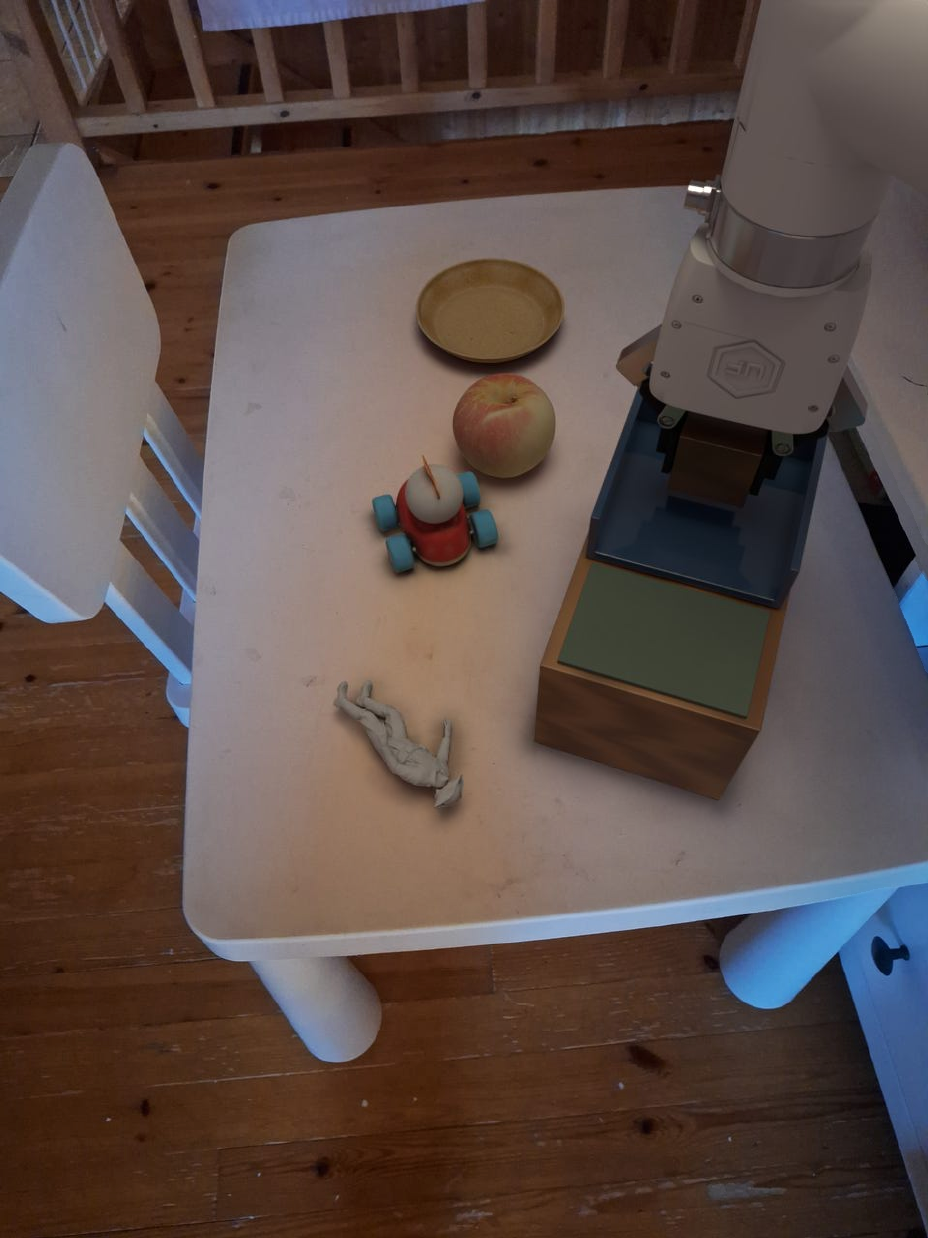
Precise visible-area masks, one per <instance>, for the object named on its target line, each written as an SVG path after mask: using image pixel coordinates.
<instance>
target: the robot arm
mask: <svg viewBox="0 0 928 1238" xmlns="http://www.w3.org/2000/svg"><path fill="white" fill-rule="evenodd" d="M759 4H760V5H759V9H758V14H757V17H756V22H755V27H754V31H753V35H752V38H751V39H752V40H751V43H750V49H749V52H748V57H747V61H746V65H745V70H744V74H743V79H742V83H741V88H740V91H739V95H738V96H739V97H738V101H737V105H736V110H735V114H734V119H733V124H732V128H731V131H730V132H731V133H730V137H729V141H728V146H727V150H726V154H725V160H724V164H723V169H722V172H721V174H716V175H715V177H714V180H709V179H706V181H698V180H693V179H691V180H689V181H690V182H689V184H688V187H687V191H686V195H685V199H684V203H683V209H684V210H688V211H694V212H697V215H698V216H703V217H704V219H703V220H702V221H701V222H700V224H699V225H698V227H697V228H696V231H695V232H694V234H693V235H692V237H691V240H690V241H689V243H688V246H687V247H686V249H685V252H684V254H683V256H682V259H681V262H680V263H679V266H678V269H677V272H676V275H675V278H674V280H673V284H672V287H671V290H670V294H669V297H668V301H667V303H666V307H665V312H664V315H663V318H662V323H660V324H659V325H657V326H656V327H654V328H653V329H651V330H650V331H648V332H647V333H645V334H644V335H642V336H640V337H639V338H637V339H636V340H634V341H632V342H631V343H629V344H628V345H627V346H625V347H624V348H622V350H621V351H620V354H619V357H618V358H617V361H616V363H615V369H616V370H617V371H618V372H619V373H620V374H621V375H622V377H623V378H625V379H626V380H627V381H628V382H629V383H630V384H631V385H632V386H634V387H635V386H636V387H637V388H639V393H640V395H641V396H642V397H643V399H644V400H645V401H646V402H647V403H648V404H649V405H650V407H651V408H652V409H653V410H654V411H655V412H656V413H657V415H658V419H657V422H658V424H659V425H660V426H661V430H660V435H659V439H658V443H657V448H656V452H659V453H664V454H665V458H664V462H663V466H662V470H661V472H662V473H666V474H669V472H670V473H671V470H672V466H673V462H674V458H675V454H676V450H677V446H678V442H679V438H680V435H681V432H682V429H683V426H684V422H685V419H686V416H687V413H688V411H692V412H696V413H700V414H704V415H708V416H712V417H716V418H720V419H725V420H729V421H733V422H738V423H742V424H746V425H751V426H755V427H760V428H764V429H769V432H768V436H767V440H766V444H765V448H764V452H763V456H762V459H761V461H760V464H759V467H758V469H757V472H756V475H755V477H754V480H753V483H752V485H751V488H750V491H749V492H750V493H749V494H750V495H754V496H758V493H759V491H760V488H761V486H762V483H763V481H764V478H766V479H770V480H775V478H776V475H777V473H778V470H779V468H780V465H781V463H782V460H783V458H784V456H788V455H790V454H791V453H792V452H793V448H794V447H797V446H800V445H803V444H806V443H809V442H811V441H814V440H817V439H820V438H823V437H825V436H826V435H827V433H828V432H829V433H831V432H833V433H837V432H842V431H845V430H849V429H853V428H857V427H860V426H863V425H864V424H866V419H867V414H868V409H869V404H868V402H867V399H866V398H865V395H864V394H863V392H862V390H861V389H860V386H859V384H858V383H857V381H856V379H855V377H854V374H853V373H852V371H851V369H850V367H849V365H848V363H849V360H850V358H851V355H852V351H853V349H854V346H855V342H856V340H857V337H858V335H859V331H860V328H861V324H862V321H863V317H864V314H865V310H866V306H867V301H868V297H869V292H870V288H871V287H870V286H871V281H872V273H873V272H872V263H873V257H872V252H871V248H870V247H869V245H868V241H869V239H870V237H871V235H872V232H873V230H874V227H875V224H876V222H877V219H878V217H879V214H880V212H881V209H882V207H883V205H884V203H885V202H884V201H885V200H886V197H887V195H888V191H889V189H890V186H891V185H892V182H893V179H894V178H896V179H898V180H899V181H901V182H902V183H904V184H906V185H907V186H909V187H910V188H912V189H913V190H916V191H918V192H919V193H921V194H922V195H923V196H926V197H928V0H760V3H759ZM829 433H828V434H829Z"/></svg>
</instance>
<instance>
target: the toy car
mask: <svg viewBox="0 0 928 1238" xmlns="http://www.w3.org/2000/svg"><path fill="white" fill-rule="evenodd" d="M421 456H422V462H423V466H420V467H419V468H417V469H416V470H415V471H414V472H412V473H411V475H410V476H409V477H408V479H406V480H405V482H403V484H402V485H401V487H400V488H399V491H398V493H397V496H396V501H394V499H393V496H392V495H391V494H389V493H388V494H383V495H379V496H375V497H373V498H372V500H371V502H372V508H373V513H374V516H375V520H376V523H377V526H378V529H379V530H380V531H382V532H385V531H389V530H393V529H396V528H398V527H399V525H400V527H401V529H402V532H403V533H399V534H396V535H393V536H389V537H388V538H386V540H385V548H386V551H387V554H388V557H389V561H390V563H391V566H392V569H393V570H394V571H395V572H396V573H401V572H404V571H408V570H410V569H411V570H412V569H413V568H414V567H415V560H414V555H413V552H414V553H416V554H417V556H418V557H419V558H420V559H421V560H422V561H423V562H425V563H426V564H428V565H431V566H435V567H445V566H449V565H453V564H455V563H458V562H460V561H461V560H462V559H463V558H464V557H466V555H467V553H468V551H469V550H470V548H471V547H470V546H471V543H472V539H471V536H472V538H473V540H474V543H475V544H476V546H477V547H478V548H485V547H488V546H492V545H494V544H496V543H498V541H499V531H498V527H497V524H496V521H495V518H494V515H493V514H492V512H491V510H489V509H486V508H485V509H481V510H477V511H474V512H472V513H470V514H469V516H468V515H467V511H466V509H468V508H471V507H475V506H478V505H479V504H480V503H481V500H482V497H481V496H482V495H481V491H480V487H479V483H478V481H477V477H476V475H475V473H473V471H465V472H461V473H458V474H457V473H456V472H455V471H453V470H452V468H451V469H450V468H449V467H448V466H445V465H442V464H438V463H437V464H436V463H431V464H428V462H427V460H426V458H425V455H424V454H422V455H421Z"/></svg>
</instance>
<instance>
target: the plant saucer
mask: <svg viewBox="0 0 928 1238" xmlns="http://www.w3.org/2000/svg"><path fill="white" fill-rule="evenodd" d="M559 288H560V287H558V285H557V284H556V283H555V282H554V281H553V280H552V279H551V278H550V277H549V276H548V275H547V274H545V273H544V272H543V271H541V270H539V269H537V268H536V267H534V266H531V265H529V264H526V263H524V262H520V261H516V260H513V259H512V260H511V259H507V258H498V257H497V258H495V257H493V258H491V257H490V258H488V257H487V258H486V257H485V258H476V259H470V260H465V261H461V262H458V263H456V264H453V265H451V266H448V267H446V268H444V269H442V270H441V271H439V272H438V273H436V274H435V275H434V276H432V277H431V278H430V279H429V280H428V281H427V282H426V283H425V284H424V286H423V287H422V288H421V290H420V292H419V293H418V296H417V299H416V304H415V317H416V321H417V324H418V326H419V328H420V329H421V331H422V333H423V334H424V335H425V336H426V338H428V339H429V340H430V341H431V342H432V343H433V344H435V345H436V346H437V347H439V348H440V349H441V350H443V351H444V352H447V353H448V354H450V355H452V356H454V357H457V358H459V359H462V360H465V361H470V362H475V363H480V364H481V363H482V364H497V363H505V362H509V361H512V360H516V359H519V358H522V357H524V356H527V355H529V354H530V353H532V352H534V351H536V350H537V349H538V348H540V347H542V346H543V345H544V344H546V342H548V340H550V339H551V338H552V337H553V335H554V334H555V333H556V332H557V331H558V329H559V327H560V326H561V325H562V322H563V320H564V316H565V300H564V297H563V294H562V292H561V290H560V289H559Z"/></svg>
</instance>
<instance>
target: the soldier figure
mask: <svg viewBox="0 0 928 1238" xmlns="http://www.w3.org/2000/svg"><path fill="white" fill-rule="evenodd" d="M372 687H373V682H372V680H370V679H369V680H366V681H365V682H363V684H362V685H361V687H360V691H361V693H360V695H359V696H357V698H356V699H355V704H354V703H353V702H352V701H349V700H348V697H347V693H348V689H349V683H348V682H347V680H343V681H341V682H339V684H338V686H337V688H336V691H337V696H336V698H335V699H334V701H333V706H334V707H335V708H337V709H340V710H344V712H346V713H347V715H350V717H352V718H353V719H354V720H356V721H360V723H361V724H363V727H364V729H365V732H366V735H367V736H368V738H369V739H370V741H371V743H372V745H373V747H374V749H375V750H376V752H377V753H378V754H379V756H380V757H381V758H382V761H384V762H385V763H386V765H387V767H388V769H389V771H390V772H391V773H392V774H394V775H397V776H398V777H399V778H401V779H402V780H404V781H405V782H407V783H409V784H411V785H413V786H416V787H427V788H430V787H434V788H436V789H435V794H434V799H435V803H434V805H433V809H439V808H446V807H451V806H453V805H456V804H457V803H458V802H459V801H461V799H462V798H463V792H464V785H465V784H464V778H463V777H464V776H463V774H459V775H458V776H456V777H454V779H452V778H449V777H450V775H451V773H450V770H449V765H448V761H449V755H450V747H451V740H452V739H451V736H452V728H453V727H452V722H451V720H450V719H449V718H448V717H447V718H446V717H445V718H444V719H442V723H443V724H444V730H443V734H444V736H443V737H442V738H441V739H440V740H441V741H440V744H439V747H438V750H437V752H436V756H434V755H433V754H432V753H431V752H430V749H429V748H428V747H427V746H426V745H424V744H422V743H419V744H418V743H416V742H414V741H413V740H411V739H410V738H408V735H407V728H406V723H405V721H404V718H403V715H402V713H401V712H400V711H399V710H398V709H397V708H395V707H394V706H393V705H391V704H390V705H388V704H385V703H382V702H379V701H377V700H374V699H373V698H371V697H370V693H371V690H372ZM377 716H378V717H381V718H384V719H385V720H384V721H385V723H386V725H385V723H384V722H382V721H380V720H379V719H378V718H377ZM448 780H450V781H449V782H448ZM447 782H448V783H447ZM442 787H443V788H442ZM439 788H441V789H439Z"/></svg>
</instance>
